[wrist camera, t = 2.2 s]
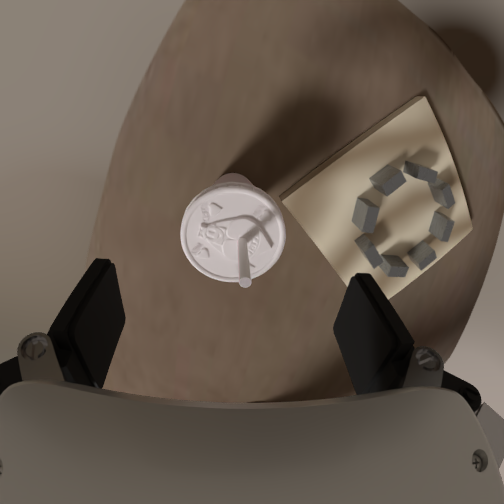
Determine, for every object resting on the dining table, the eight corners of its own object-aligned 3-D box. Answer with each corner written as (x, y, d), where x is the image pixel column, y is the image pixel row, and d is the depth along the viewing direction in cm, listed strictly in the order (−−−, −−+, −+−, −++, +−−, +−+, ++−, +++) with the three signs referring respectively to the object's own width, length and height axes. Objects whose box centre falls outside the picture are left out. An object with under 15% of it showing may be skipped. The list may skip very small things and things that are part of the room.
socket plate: (465, 224, 28) (472, 229, 27) (362, 306, 33) (367, 314, 31) (416, 96, 21) (425, 96, 19) (279, 196, 25) (281, 201, 24)
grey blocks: (451, 224, 26) (463, 234, 24) (379, 282, 29) (389, 295, 27) (418, 140, 22) (434, 144, 19) (331, 206, 25) (340, 216, 22)
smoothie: (256, 231, 27) (276, 338, 15) (191, 216, 26) (157, 316, 13) (277, 168, 24) (324, 233, 12) (206, 150, 23) (175, 196, 11)
